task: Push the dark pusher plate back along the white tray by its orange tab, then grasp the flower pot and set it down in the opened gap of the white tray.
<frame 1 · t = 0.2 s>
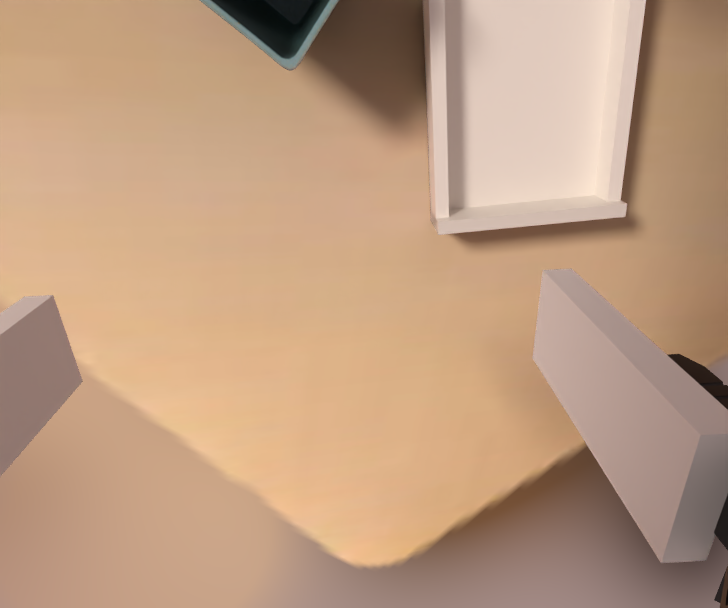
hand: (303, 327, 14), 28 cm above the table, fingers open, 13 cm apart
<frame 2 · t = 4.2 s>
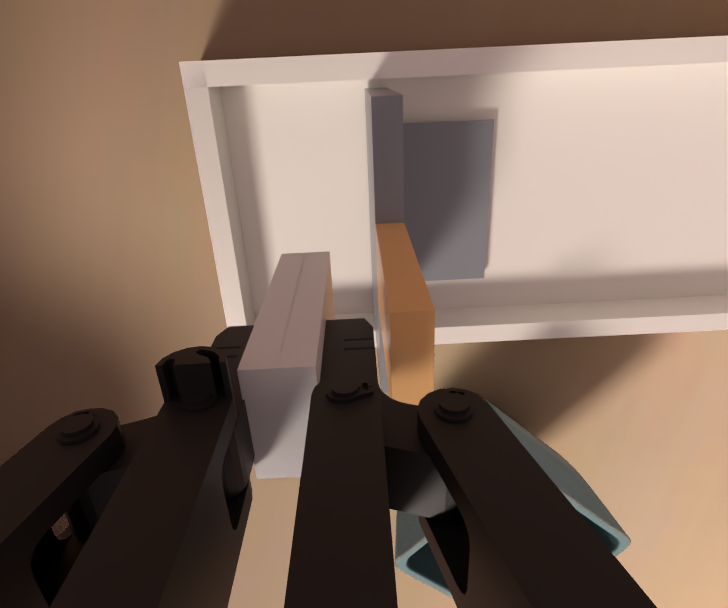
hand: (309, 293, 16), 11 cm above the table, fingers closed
pusher: (457, 255, 18), point 9 cm above the table, slide at 0.1 cm, touching gripper
flower pot: (472, 434, 33), on the table
white tray: (526, 195, 26), on the table
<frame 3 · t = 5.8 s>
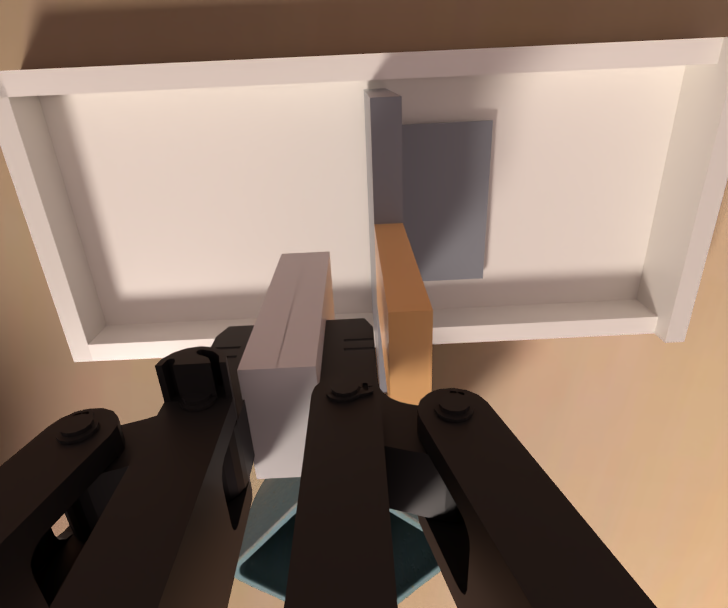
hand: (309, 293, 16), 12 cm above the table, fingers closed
pusher: (455, 255, 18), point 9 cm above the table, slide at 8.5 cm, touching gripper
flower pot: (346, 440, 33), on the table
white tray: (367, 203, 26), on the table
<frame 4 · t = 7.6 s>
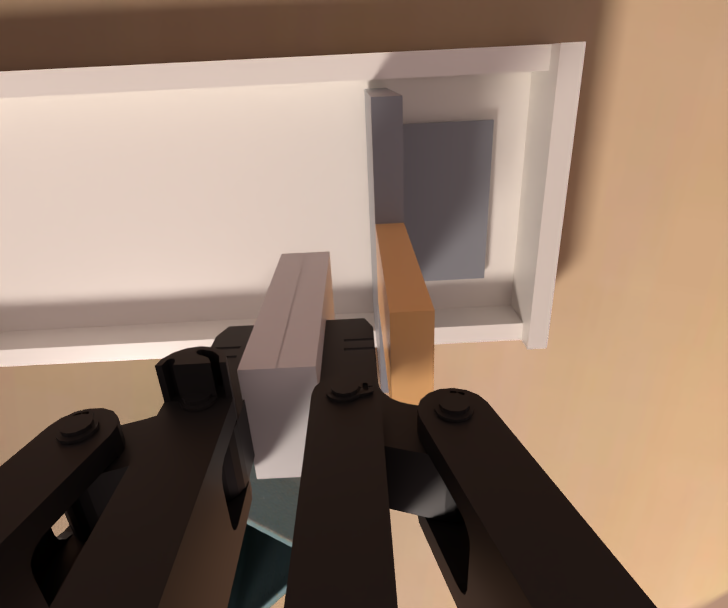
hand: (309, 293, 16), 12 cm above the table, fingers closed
pusher: (456, 255, 18), point 9 cm above the table, slide at 15.7 cm, touching gripper
flower pot: (240, 446, 33), on the table
white tray: (231, 210, 26), on the table
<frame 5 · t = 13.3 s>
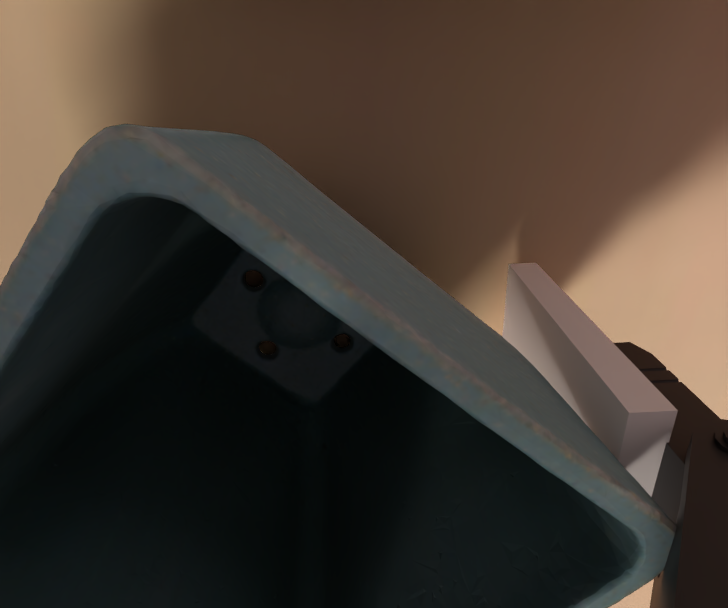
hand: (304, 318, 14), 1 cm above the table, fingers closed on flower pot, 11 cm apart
flower pot: (304, 304, 15), on the table, touching gripper
when the fingers open (4 cm above the table, at t = 21.2 s): flower pot drops 2 cm, resting on white tray.
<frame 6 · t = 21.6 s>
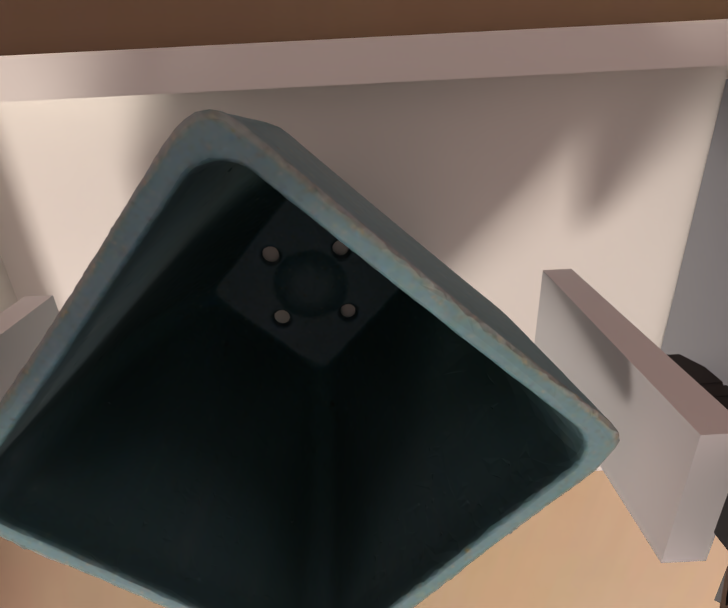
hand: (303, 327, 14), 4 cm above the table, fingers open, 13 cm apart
flower pot: (315, 278, 17), point 1 cm above the table, touching white tray
white tray: (455, 263, 17), on the table
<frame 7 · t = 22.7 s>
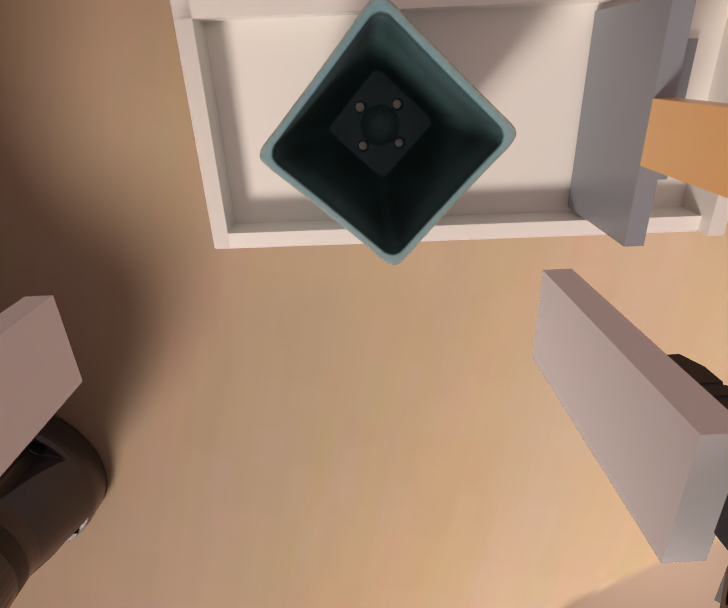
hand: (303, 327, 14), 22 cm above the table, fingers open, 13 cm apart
pusher: (704, 129, 24), point 9 cm above the table, slide at 15.8 cm
flower pot: (381, 124, 31), point 1 cm above the table, touching white tray
white tray: (458, 119, 32), on the table
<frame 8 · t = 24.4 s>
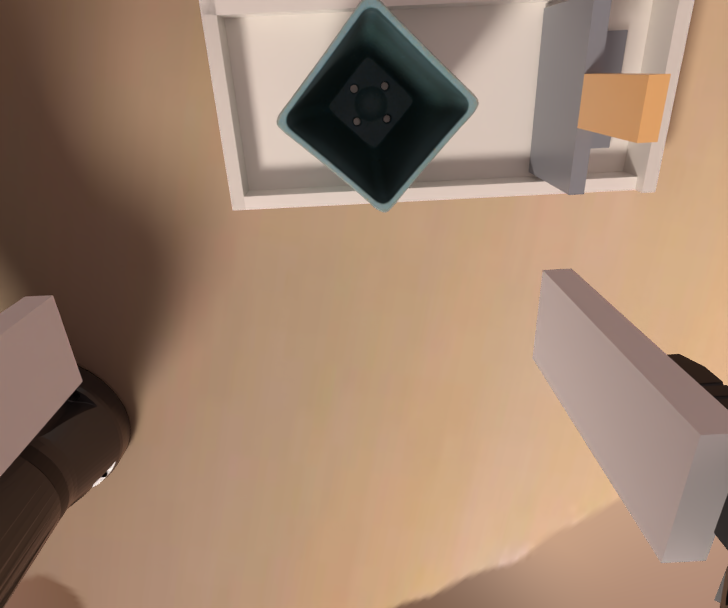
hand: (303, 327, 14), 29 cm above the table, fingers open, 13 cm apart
pusher: (626, 98, 30), point 9 cm above the table, slide at 15.8 cm
flower pot: (371, 103, 37), point 1 cm above the table, touching white tray
white tray: (435, 99, 38), on the table
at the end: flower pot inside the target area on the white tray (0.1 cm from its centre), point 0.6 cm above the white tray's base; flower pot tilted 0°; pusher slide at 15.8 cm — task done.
